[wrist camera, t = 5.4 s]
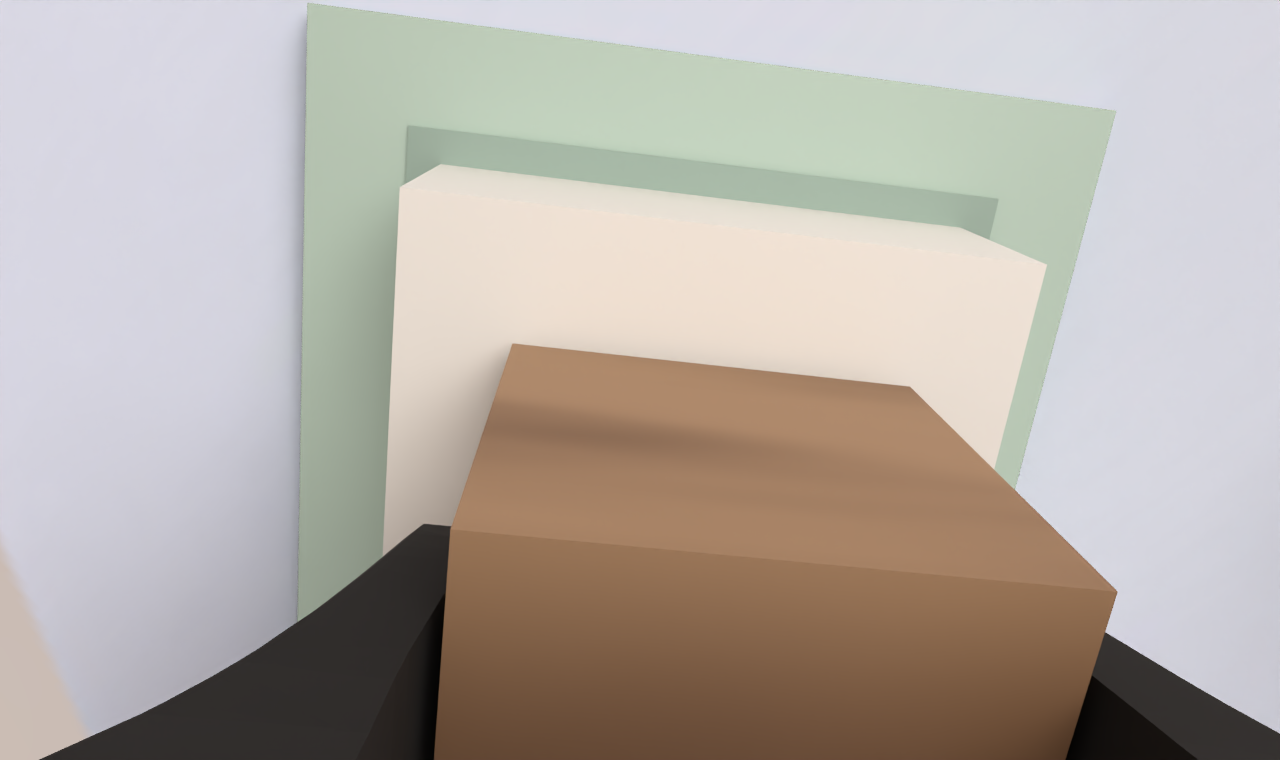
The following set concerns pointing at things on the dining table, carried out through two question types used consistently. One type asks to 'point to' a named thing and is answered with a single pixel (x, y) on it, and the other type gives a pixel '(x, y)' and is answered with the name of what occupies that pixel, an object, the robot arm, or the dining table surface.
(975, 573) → the walnut cube
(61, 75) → the dining table surface
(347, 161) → the board
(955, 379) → the block
